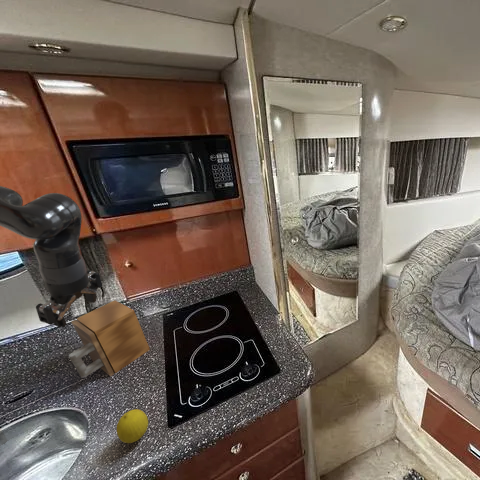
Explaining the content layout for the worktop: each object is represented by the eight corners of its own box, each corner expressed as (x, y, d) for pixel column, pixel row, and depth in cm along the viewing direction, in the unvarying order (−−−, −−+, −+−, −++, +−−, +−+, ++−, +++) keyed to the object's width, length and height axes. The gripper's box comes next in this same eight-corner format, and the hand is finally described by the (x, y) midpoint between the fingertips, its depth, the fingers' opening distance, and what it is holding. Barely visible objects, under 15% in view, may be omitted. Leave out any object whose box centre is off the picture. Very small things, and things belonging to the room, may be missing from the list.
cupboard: (115, 373, 74) (94, 331, 68) (97, 358, 80) (76, 318, 74) (150, 349, 82) (134, 310, 76) (131, 337, 88) (114, 300, 81)
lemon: (150, 419, 61) (139, 397, 58) (154, 437, 57) (143, 414, 54) (122, 436, 58) (109, 414, 55) (125, 457, 54) (112, 434, 51)
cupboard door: (90, 390, 69) (65, 347, 63) (72, 373, 75) (48, 332, 69) (114, 373, 74) (93, 332, 68) (96, 358, 79) (75, 319, 73)
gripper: (78, 249, 65) (88, 289, 74) (14, 286, 54) (35, 329, 62) (106, 260, 66) (112, 298, 75) (48, 298, 54) (64, 339, 63)
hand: (77, 312), depth 69 cm, fingers open, 8 cm apart
